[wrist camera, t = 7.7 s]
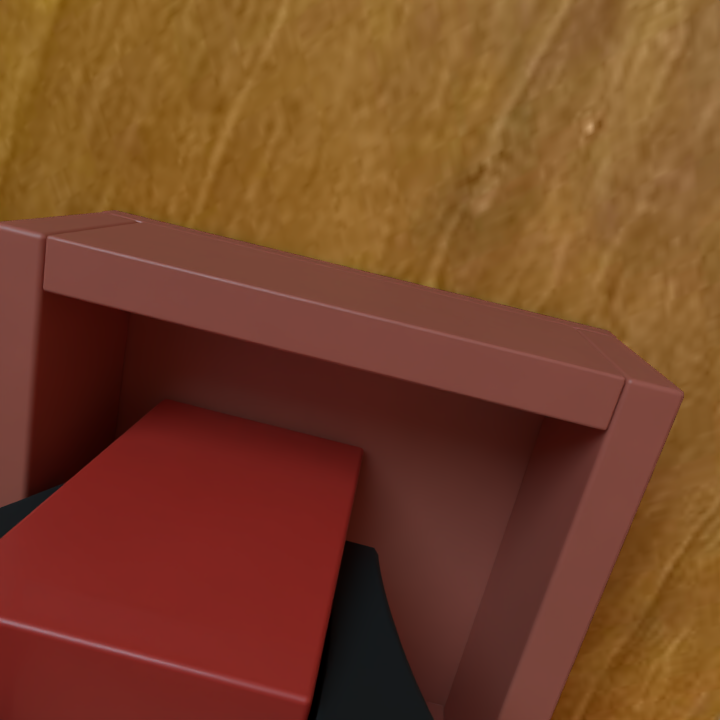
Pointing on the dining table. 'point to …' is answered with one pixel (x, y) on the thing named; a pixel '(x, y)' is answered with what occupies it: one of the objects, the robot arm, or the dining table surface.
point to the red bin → (355, 424)
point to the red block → (178, 575)
